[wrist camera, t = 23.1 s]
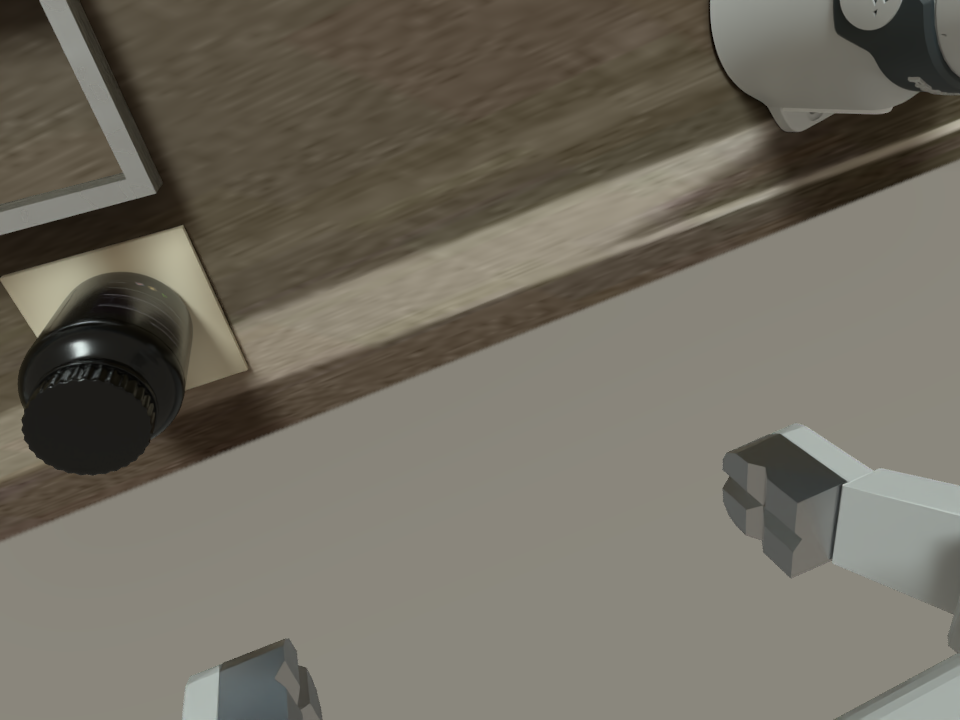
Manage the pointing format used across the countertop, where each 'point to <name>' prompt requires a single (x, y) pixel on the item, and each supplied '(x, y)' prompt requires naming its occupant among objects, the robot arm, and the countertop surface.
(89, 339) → the supplement bottle
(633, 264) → the countertop surface
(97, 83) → the steel holder
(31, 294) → the birch pad
